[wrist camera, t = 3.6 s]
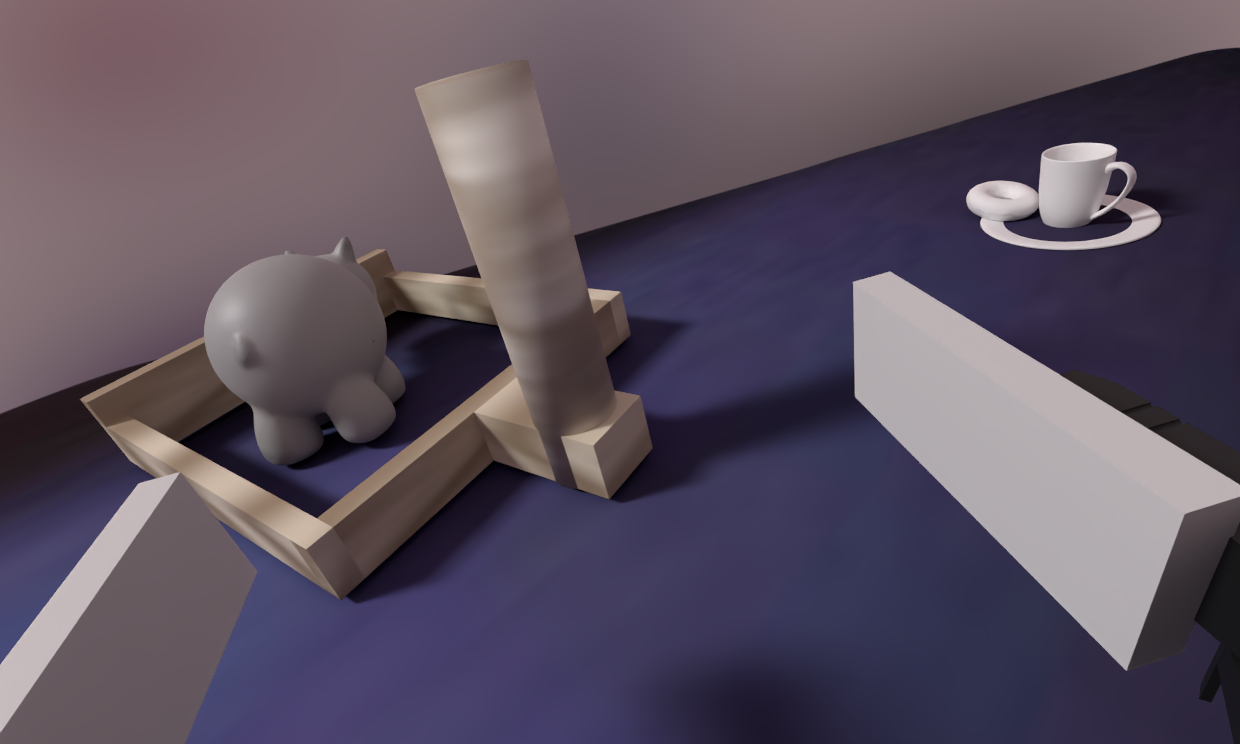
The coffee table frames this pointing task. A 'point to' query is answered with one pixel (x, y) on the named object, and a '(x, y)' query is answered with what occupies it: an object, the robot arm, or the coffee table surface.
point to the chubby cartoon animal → (304, 351)
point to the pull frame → (505, 296)
